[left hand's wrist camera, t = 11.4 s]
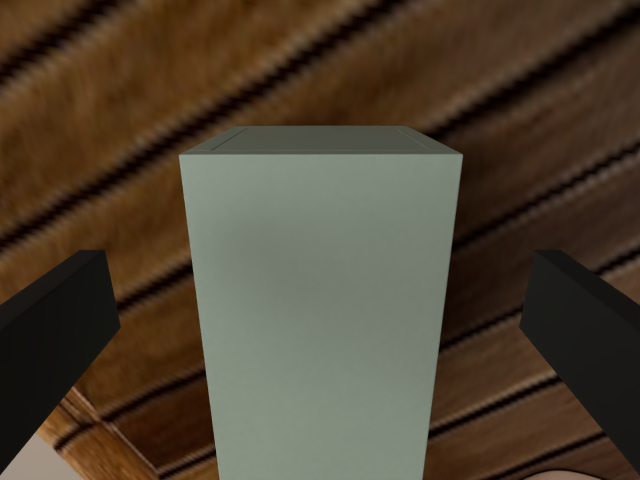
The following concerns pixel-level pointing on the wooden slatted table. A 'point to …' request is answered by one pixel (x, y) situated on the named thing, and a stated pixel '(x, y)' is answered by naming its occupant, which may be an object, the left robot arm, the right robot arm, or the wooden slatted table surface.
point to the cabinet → (321, 295)
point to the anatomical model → (560, 476)
